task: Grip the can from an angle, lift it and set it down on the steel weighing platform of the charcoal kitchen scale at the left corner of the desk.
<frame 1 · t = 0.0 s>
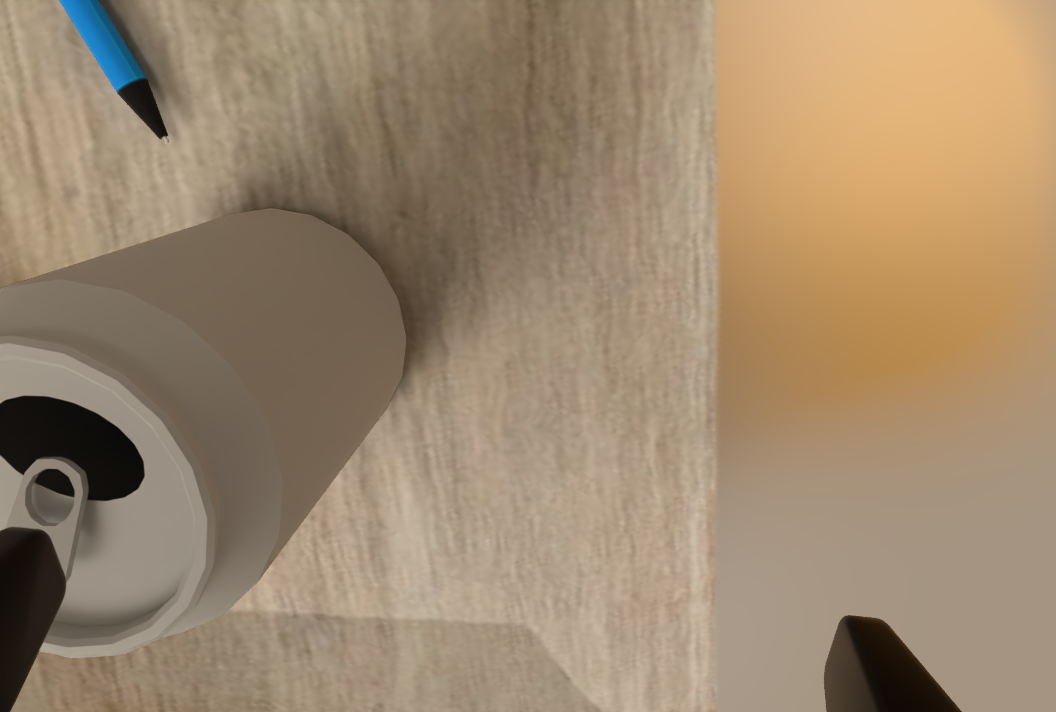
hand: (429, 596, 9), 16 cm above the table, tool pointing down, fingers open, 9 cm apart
can: (296, 325, 26), on the table
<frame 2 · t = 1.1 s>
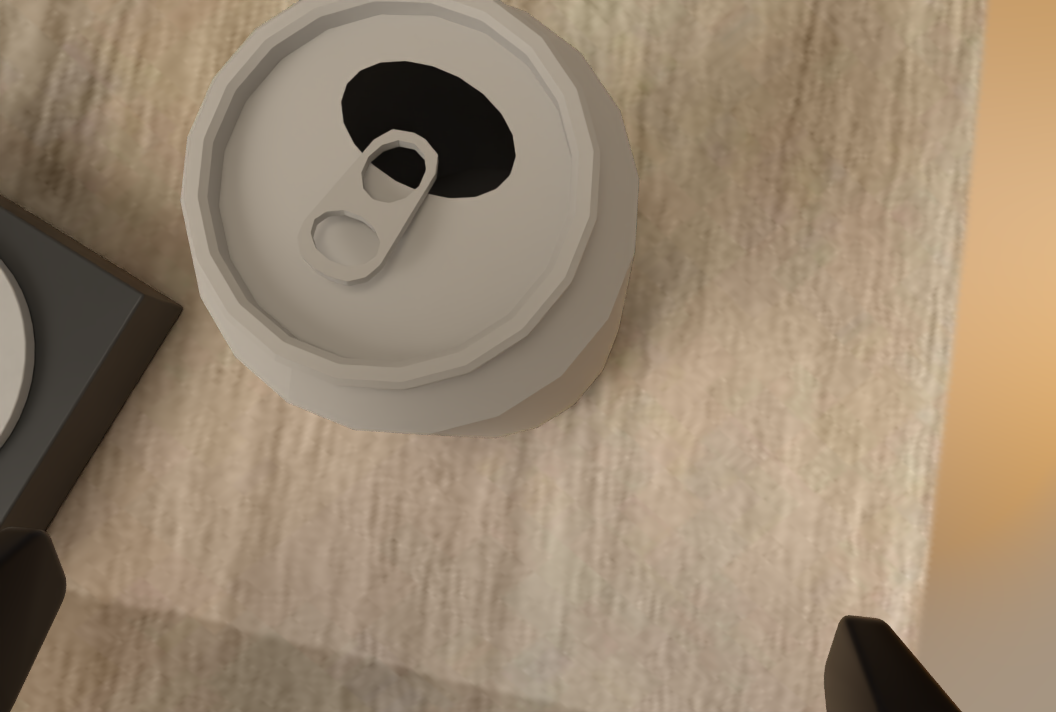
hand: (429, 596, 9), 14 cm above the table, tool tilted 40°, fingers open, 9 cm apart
can: (489, 307, 24), on the table
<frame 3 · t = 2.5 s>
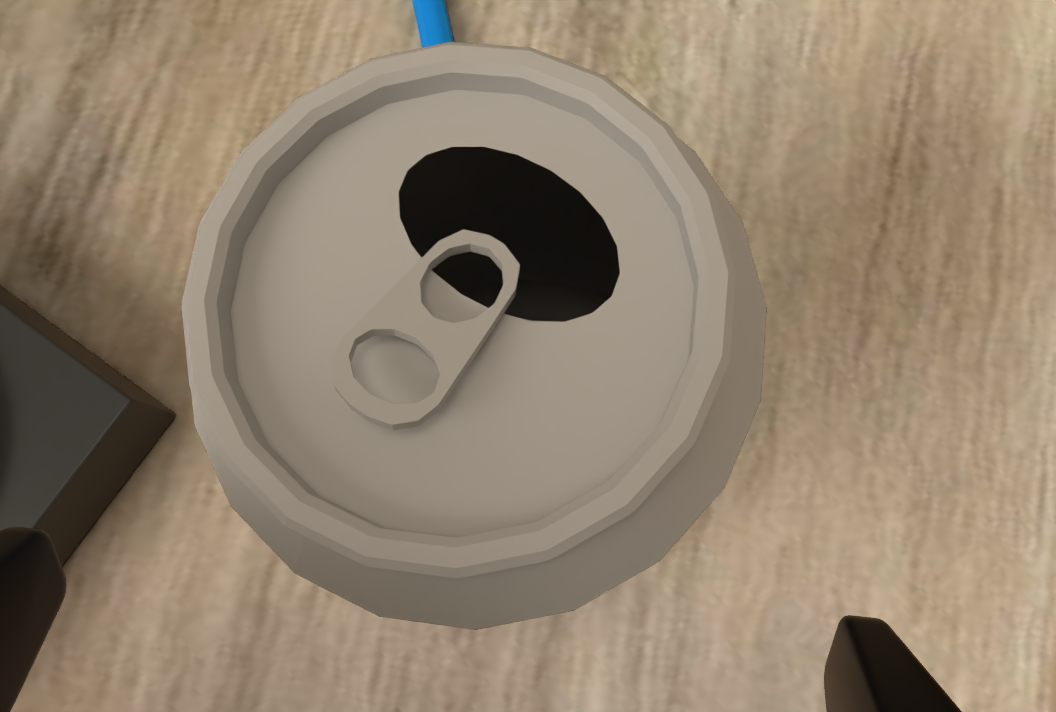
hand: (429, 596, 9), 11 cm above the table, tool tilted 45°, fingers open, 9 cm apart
can: (526, 435, 21), on the table
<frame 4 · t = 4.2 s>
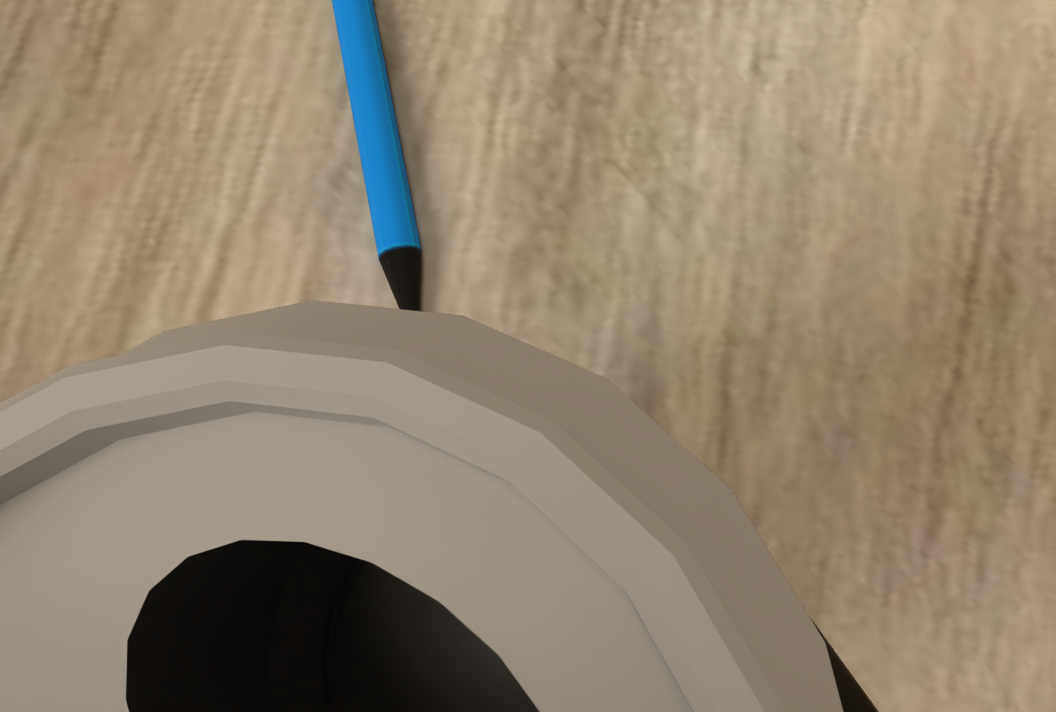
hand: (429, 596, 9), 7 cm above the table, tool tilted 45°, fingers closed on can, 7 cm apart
can: (484, 653, 16), on the table, touching gripper
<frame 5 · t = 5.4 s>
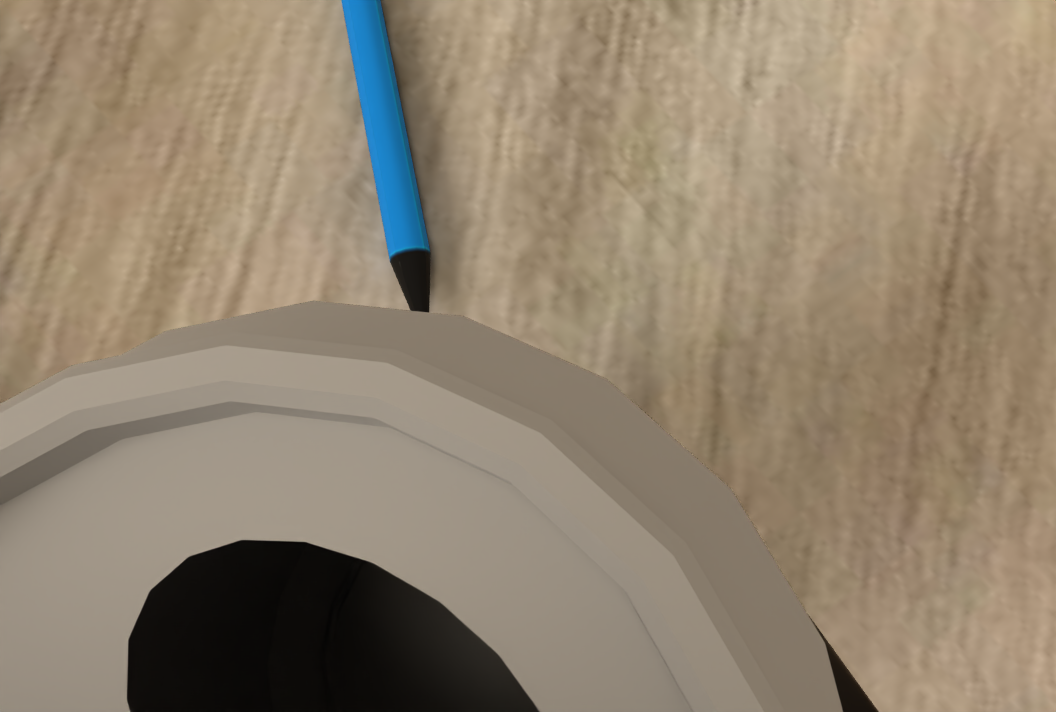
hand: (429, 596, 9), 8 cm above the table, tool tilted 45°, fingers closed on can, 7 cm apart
can: (484, 653, 16), point 1 cm above the table, touching gripper
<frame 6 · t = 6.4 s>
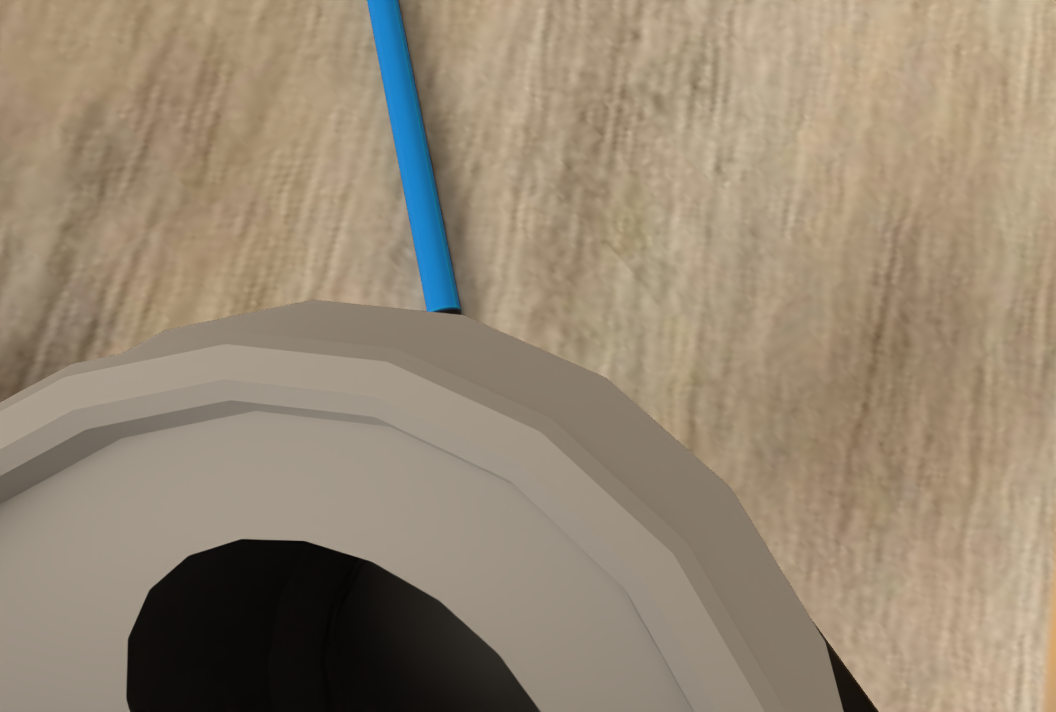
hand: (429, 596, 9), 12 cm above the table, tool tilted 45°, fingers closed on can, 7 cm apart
pen: (398, 71, 25), on the table
can: (484, 653, 16), point 5 cm above the table, touching gripper
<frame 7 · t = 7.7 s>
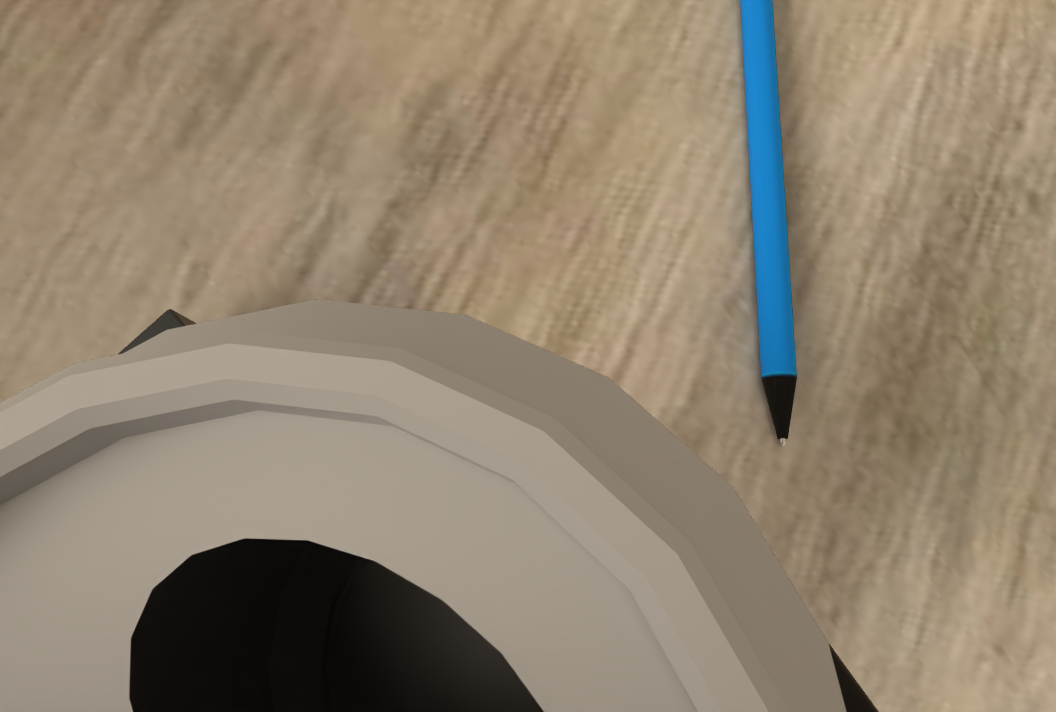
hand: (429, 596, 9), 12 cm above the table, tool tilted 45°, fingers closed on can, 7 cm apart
scale: (178, 592, 22), on the table
pen: (757, 111, 24), on the table
can: (485, 653, 16), point 5 cm above the table, touching gripper
when the fingers open (9 cm above the table, at t = 10.8 s): can stays where it is, resting on scale.
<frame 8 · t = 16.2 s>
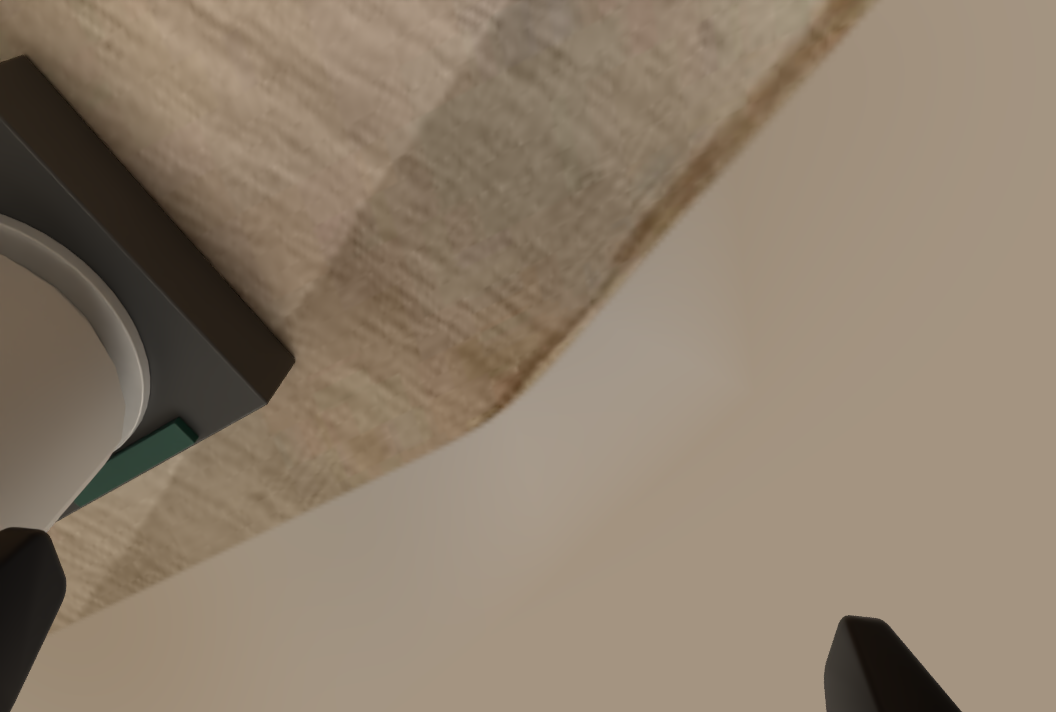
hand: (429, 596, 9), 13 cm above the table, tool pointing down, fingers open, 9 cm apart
scale: (55, 303, 24), on the table
can: (7, 348, 22), point 2 cm above the table, touching scale
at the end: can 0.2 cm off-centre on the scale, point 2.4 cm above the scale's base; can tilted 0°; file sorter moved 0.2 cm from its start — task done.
